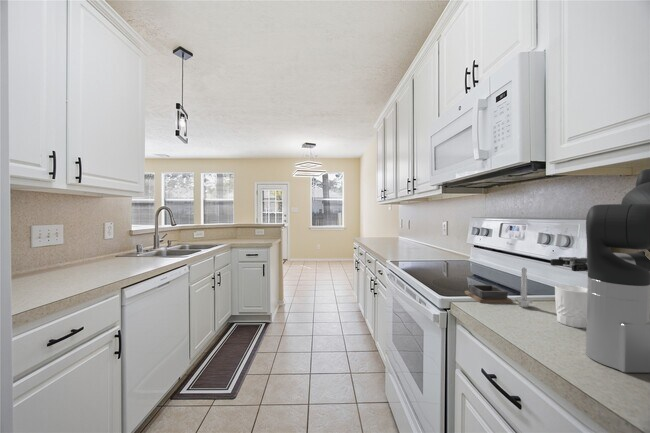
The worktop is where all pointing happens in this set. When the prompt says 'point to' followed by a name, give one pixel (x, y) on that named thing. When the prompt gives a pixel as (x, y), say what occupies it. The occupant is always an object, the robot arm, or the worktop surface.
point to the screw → (524, 291)
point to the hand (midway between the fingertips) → (561, 264)
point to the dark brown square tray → (488, 294)
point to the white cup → (571, 305)
